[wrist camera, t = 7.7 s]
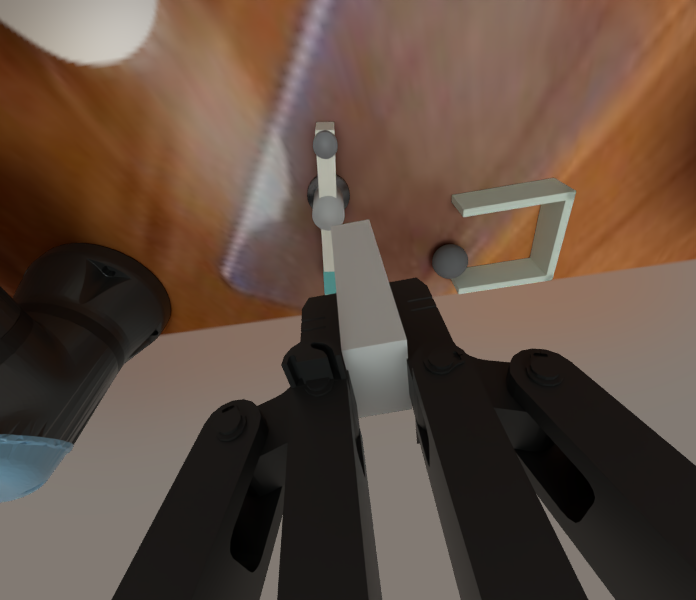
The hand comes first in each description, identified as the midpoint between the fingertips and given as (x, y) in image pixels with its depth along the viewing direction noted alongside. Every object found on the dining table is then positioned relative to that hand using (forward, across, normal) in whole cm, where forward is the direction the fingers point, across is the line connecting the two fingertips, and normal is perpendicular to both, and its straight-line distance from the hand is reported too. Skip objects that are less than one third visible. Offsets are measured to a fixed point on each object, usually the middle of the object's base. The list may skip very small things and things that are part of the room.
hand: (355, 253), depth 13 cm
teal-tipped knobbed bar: (+22, -2, -7) cm, 23 cm away
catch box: (+23, +17, -13) cm, 31 cm away
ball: (+22, +12, -16) cm, 30 cm away
